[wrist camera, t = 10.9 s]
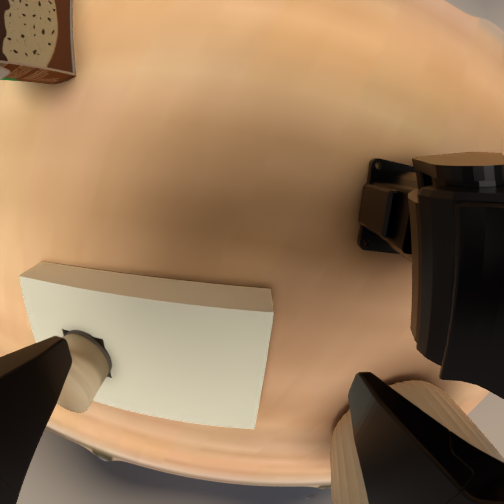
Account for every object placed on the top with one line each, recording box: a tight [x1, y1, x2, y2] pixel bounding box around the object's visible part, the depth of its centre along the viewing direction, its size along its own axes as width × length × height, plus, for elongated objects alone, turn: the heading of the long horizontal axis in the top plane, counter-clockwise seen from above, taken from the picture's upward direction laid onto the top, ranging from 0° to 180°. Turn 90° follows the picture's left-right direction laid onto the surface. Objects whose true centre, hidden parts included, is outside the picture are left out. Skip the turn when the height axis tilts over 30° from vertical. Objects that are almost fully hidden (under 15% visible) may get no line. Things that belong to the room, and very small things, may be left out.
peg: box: [57, 330, 112, 413], centre depth 18 cm, size 5×5×7 cm
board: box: [19, 261, 274, 429], centre depth 21 cm, size 20×12×4 cm, turn 85°
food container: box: [0, 0, 76, 84], centre depth 10 cm, size 12×6×10 cm, turn 14°
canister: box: [330, 380, 504, 504], centre depth 16 cm, size 18×18×21 cm
